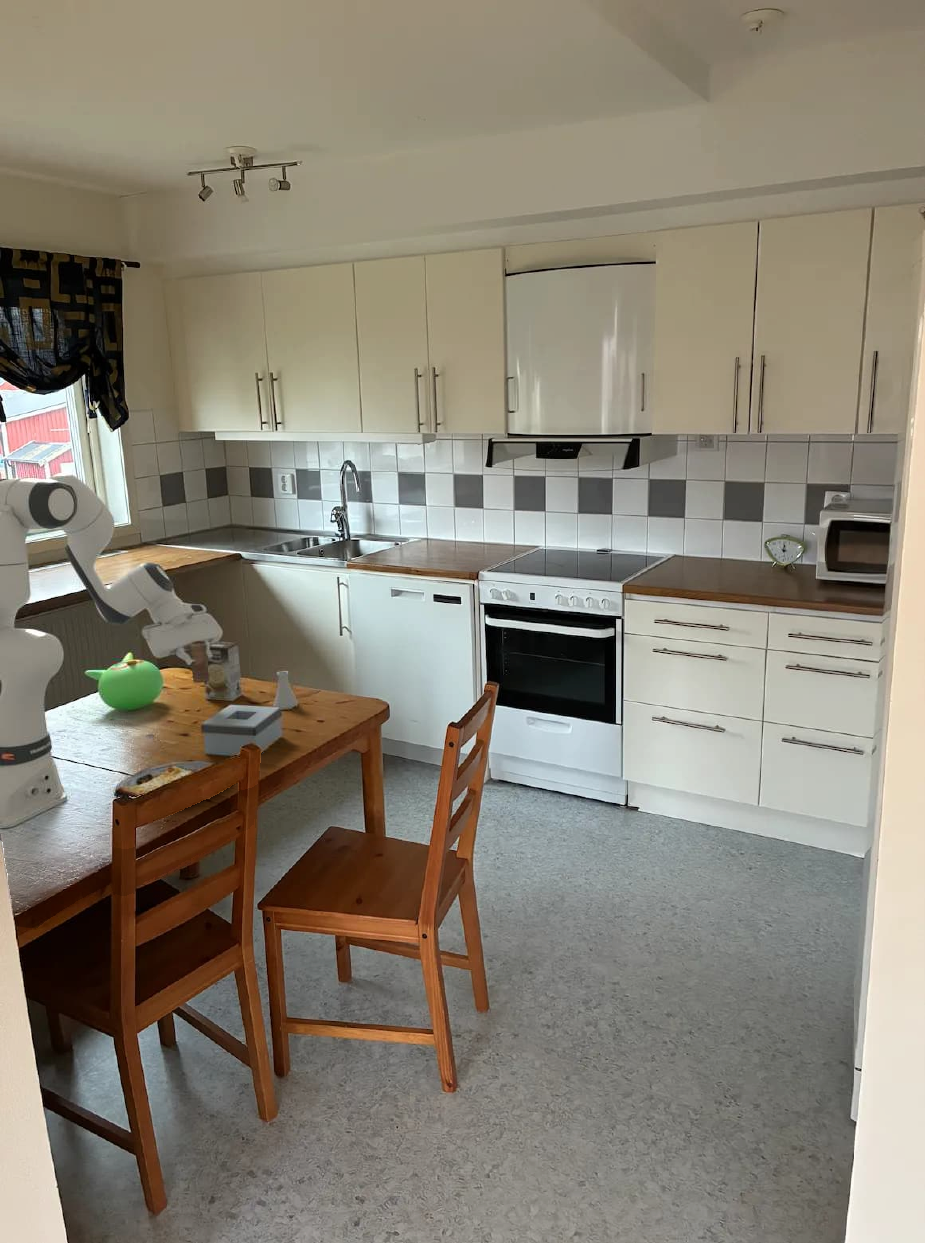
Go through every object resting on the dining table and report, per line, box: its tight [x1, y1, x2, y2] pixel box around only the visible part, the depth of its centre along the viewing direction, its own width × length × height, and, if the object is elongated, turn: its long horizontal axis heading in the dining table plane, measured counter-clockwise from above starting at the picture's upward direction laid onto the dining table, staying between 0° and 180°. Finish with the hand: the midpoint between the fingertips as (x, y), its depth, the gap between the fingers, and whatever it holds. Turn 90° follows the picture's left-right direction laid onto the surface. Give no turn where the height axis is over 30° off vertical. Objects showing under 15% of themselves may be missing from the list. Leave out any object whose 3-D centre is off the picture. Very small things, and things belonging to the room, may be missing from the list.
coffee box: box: [203, 640, 243, 702], centre depth 275 cm, size 9×6×16 cm
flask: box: [272, 670, 299, 711], centre depth 265 cm, size 7×7×10 cm
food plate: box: [113, 760, 216, 799], centre depth 212 cm, size 25×23×4 cm
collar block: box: [200, 704, 283, 757], centre depth 236 cm, size 14×14×8 cm
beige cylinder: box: [189, 641, 209, 684], centre depth 241 cm, size 4×4×10 cm
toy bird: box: [84, 652, 164, 711], centre depth 268 cm, size 18×17×15 cm
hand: (200, 660), depth 241 cm, fingers closed on beige cylinder, 4 cm apart
